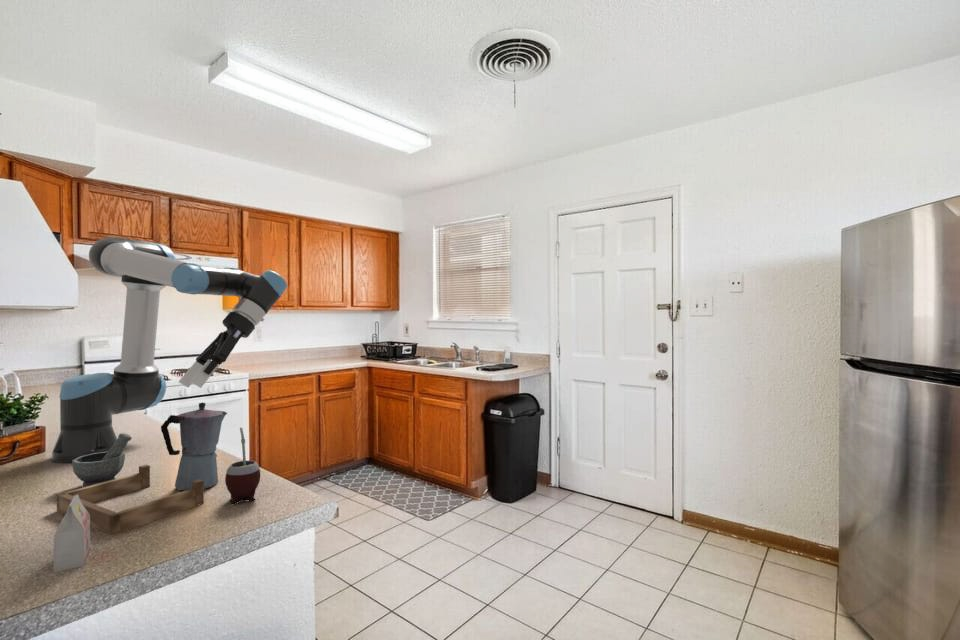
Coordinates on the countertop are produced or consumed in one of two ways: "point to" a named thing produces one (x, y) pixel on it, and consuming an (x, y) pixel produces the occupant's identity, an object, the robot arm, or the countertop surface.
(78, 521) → the white paper packet
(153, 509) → the bay
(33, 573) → the countertop surface
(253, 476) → the mate gourd
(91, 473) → the mortar and pestle
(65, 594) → the countertop surface
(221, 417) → the moka pot
